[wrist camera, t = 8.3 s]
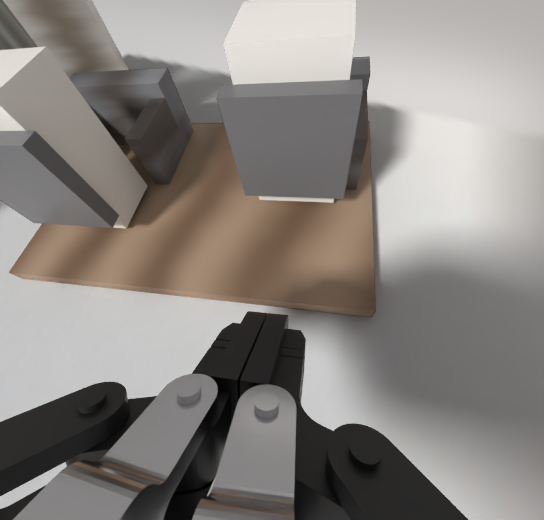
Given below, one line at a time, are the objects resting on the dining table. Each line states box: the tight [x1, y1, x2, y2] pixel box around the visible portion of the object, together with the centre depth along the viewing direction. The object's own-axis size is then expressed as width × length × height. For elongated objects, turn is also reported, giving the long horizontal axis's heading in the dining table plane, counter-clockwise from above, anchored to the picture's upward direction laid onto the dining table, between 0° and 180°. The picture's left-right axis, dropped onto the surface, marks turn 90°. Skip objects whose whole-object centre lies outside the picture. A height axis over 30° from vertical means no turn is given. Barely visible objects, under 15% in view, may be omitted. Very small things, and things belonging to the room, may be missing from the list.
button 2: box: [0, 47, 147, 228], centre depth 15 cm, size 6×5×9 cm
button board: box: [3, 0, 376, 317], centre depth 16 cm, size 25×16×11 cm, turn 81°
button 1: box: [217, 0, 363, 203], centre depth 14 cm, size 6×5×9 cm
